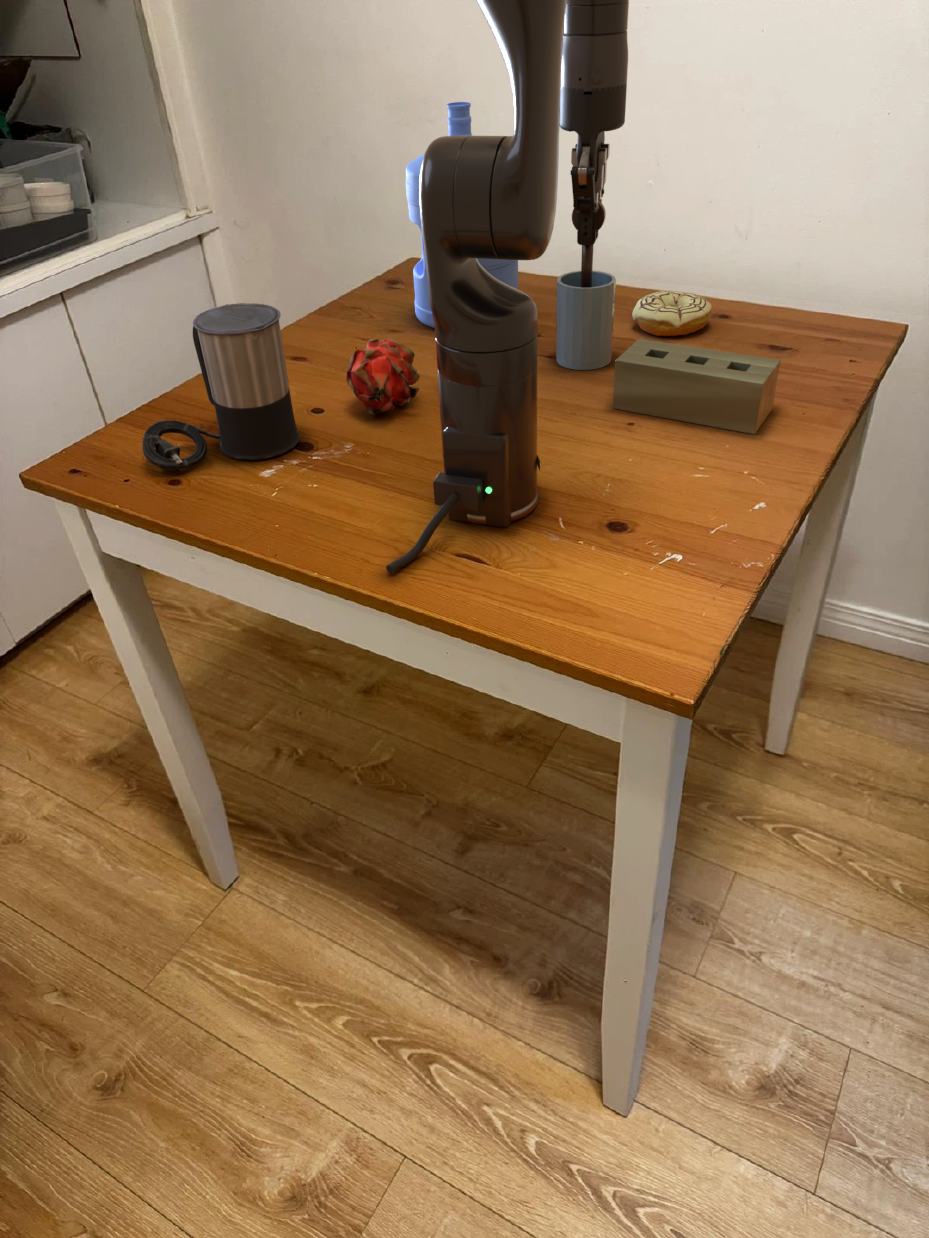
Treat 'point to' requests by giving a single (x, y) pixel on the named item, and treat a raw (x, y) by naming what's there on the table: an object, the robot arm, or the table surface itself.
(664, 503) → the table surface
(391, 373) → the dragon fruit
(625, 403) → the stand
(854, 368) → the table surface
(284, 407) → the milk frother
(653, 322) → the decorated donut
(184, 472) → the table surface
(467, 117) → the water jug
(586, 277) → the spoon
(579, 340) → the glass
